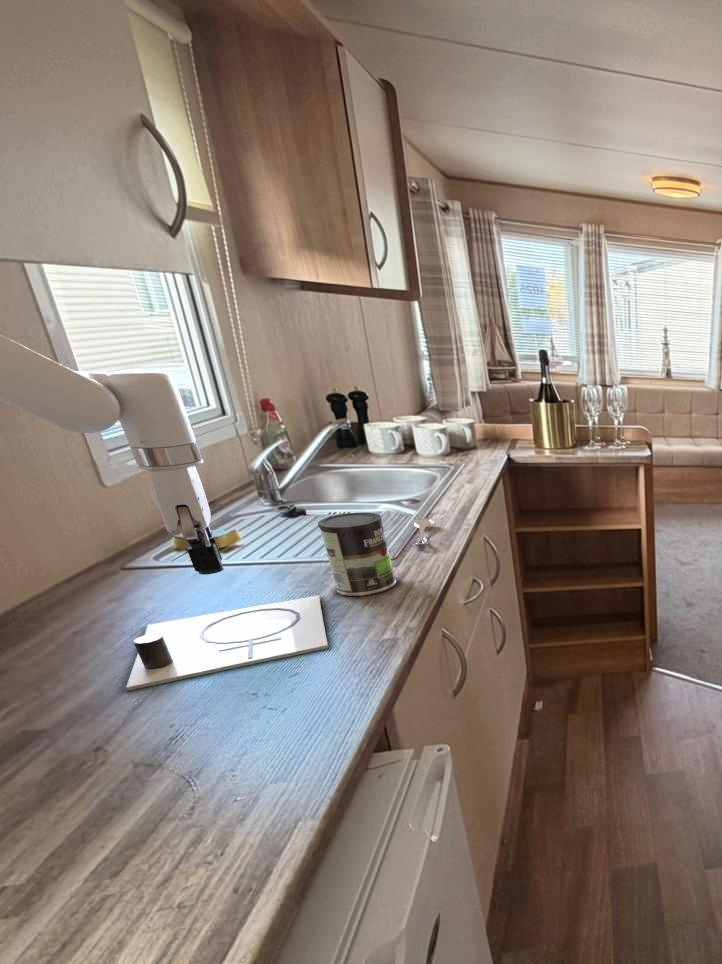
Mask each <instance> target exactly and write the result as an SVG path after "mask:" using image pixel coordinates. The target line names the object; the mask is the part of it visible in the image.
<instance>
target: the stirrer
mask: <svg viewBox="0 0 722 964" xmlns="http://www.w3.org/2000/svg"><path fill="white" fill-rule="evenodd" d="M433 523H434V521H433V520H431V519H430V518H417V519H414V521H412V523H411V524H412V525H413V526H415V527H417V528H418V530H419V536H418V537H419V538H418V539H417V541H416V542H413V543H411V546H416V545H426V544H427V545H429V542H428V541H427V539H426V536H425V529H426V528H427V527H429V526H431V525H432V524H433Z"/></svg>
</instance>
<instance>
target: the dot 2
mask: <svg viewBox="0 0 722 964" xmlns="http://www.w3.org/2000/svg"><path fill="white" fill-rule="evenodd" d="M210 544H211V545H214V548H215V551H216V554H217V556H218V559H219V562H220V565H221V567H220V568H219V569H214V570H207V571H200V572H198V574H199V575H213V574H218V573H221V572H222V571H224V570H225V568H224V565H223V562H222V560H221V559H220V557H219V554H218V551H217V548H216V545H215V544H214V543H210Z"/></svg>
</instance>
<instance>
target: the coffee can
mask: <svg viewBox="0 0 722 964" xmlns="http://www.w3.org/2000/svg"><path fill="white" fill-rule="evenodd" d="M317 526H318V528H319V530H320V533H321V537H322V541H323V544H324V549H325V552H326V555H327V559H328V563H329V566H330V570H331V574H332V577H333V581H334V584H335V588H336V593H338V594H339V595H342V596H347V597H358V596H359V597H360V596H368V595H374V594H378V593H382V592H385V591H387V590H390V589H391V588H393V587H394V586H396V584H397V579H396V576H395V573H394V567H393V563H392V560H391V559H392V558H391V555H390V551H389V548H388V542H387V538H386V534H385V529H384V525H383V518H382V515H380V514H379V513H375V512H368V511H367V512H366V511H365V512H363V511H362V512H360V511H359V512H358V511H357V512H348V513H340V514H334V515H330V516H328V517H324V518H322V519H320V520H319V521H318V522H317Z"/></svg>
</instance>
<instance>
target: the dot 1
mask: <svg viewBox="0 0 722 964" xmlns="http://www.w3.org/2000/svg"><path fill="white" fill-rule="evenodd" d="M144 635H145V634H144ZM144 635H142V636H139V637H137V638H135V639H134V640H133V642H132V643H133V645H134V647H135V649H136V652H137V655H138V654H139V656H140V658H141V661H142V663H143V665H144V667H145V669H158V668H162V667H165V666H168V665H170V664H171V663H172V662H173V659H172V657H171V655H170V652H169V650H168V647H167V645H166V643H165V640H164V638H163V635H162V634H149V635H145V636H144Z"/></svg>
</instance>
